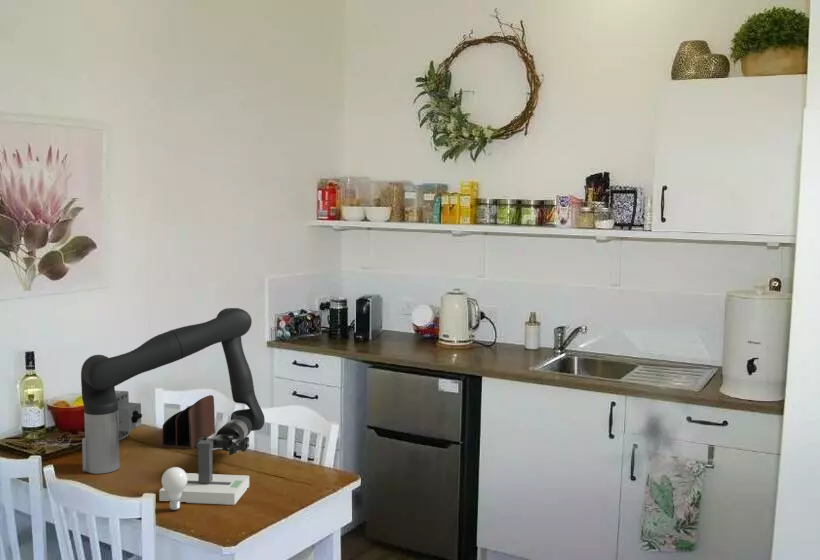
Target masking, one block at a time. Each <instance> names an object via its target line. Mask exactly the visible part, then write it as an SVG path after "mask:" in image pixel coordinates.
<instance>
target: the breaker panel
mask: <svg viewBox="0 0 820 560" xmlns="http://www.w3.org/2000/svg"><path fill="white" fill-rule="evenodd" d="M186 474H187V478H188V480H187V484H186V486H185V488H184V489H183V491H182V495H181V498H180V503H181V502H186V504H187V503H188V504H207V505H208V504H209V505H225V506H226V505H228V506H229V505H231V506H232V505H233V506H235V505H236V504H237V502H239V500H240V499H241V498H242V496H244V495H245V492H246V491H247V490H248V489H249V487H250V475H241V474H219V473H217V474H216V473H212V475H213V480H212V481H211V482H210V483H198V472H197V473H196V472H194V473H192V472H191V473H190V472H189V473H188V472H186ZM247 488H248V489H247ZM158 493H159V495H158V496H159V501H169V498H168V494H167V492H166V490H165V489H164V488H163V486H162V487H161V488H160V489H159V490H158Z"/></svg>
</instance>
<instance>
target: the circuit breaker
mask: <svg viewBox="0 0 820 560" xmlns="http://www.w3.org/2000/svg"><path fill="white" fill-rule="evenodd" d="M115 394H116V398H117V400H118V421H119V436H120V437H119V441H121V440H123V439H125V438H127V437H129V436H130V432H131V431H133V430H136V429H137V428H139V427H141V426H142V418H143V414H142V404H141V402H130V397H129V391H128V390H115ZM122 435H123V436H122ZM128 435H129V436H128ZM126 436H127V437H126Z"/></svg>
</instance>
